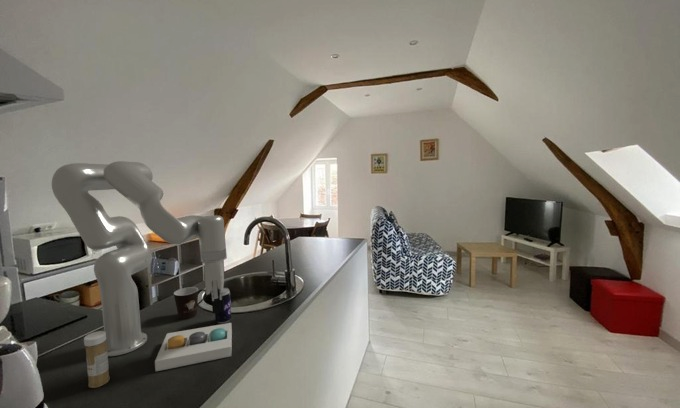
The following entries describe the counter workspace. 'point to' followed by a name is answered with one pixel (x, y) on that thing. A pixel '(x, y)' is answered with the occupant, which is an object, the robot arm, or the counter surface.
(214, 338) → the teal button
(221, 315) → the beverage can
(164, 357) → the panel
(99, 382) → the sprinkles bottle
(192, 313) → the coffee mug
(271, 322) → the counter surface
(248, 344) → the counter surface
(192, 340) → the charcoal button
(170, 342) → the orange button
